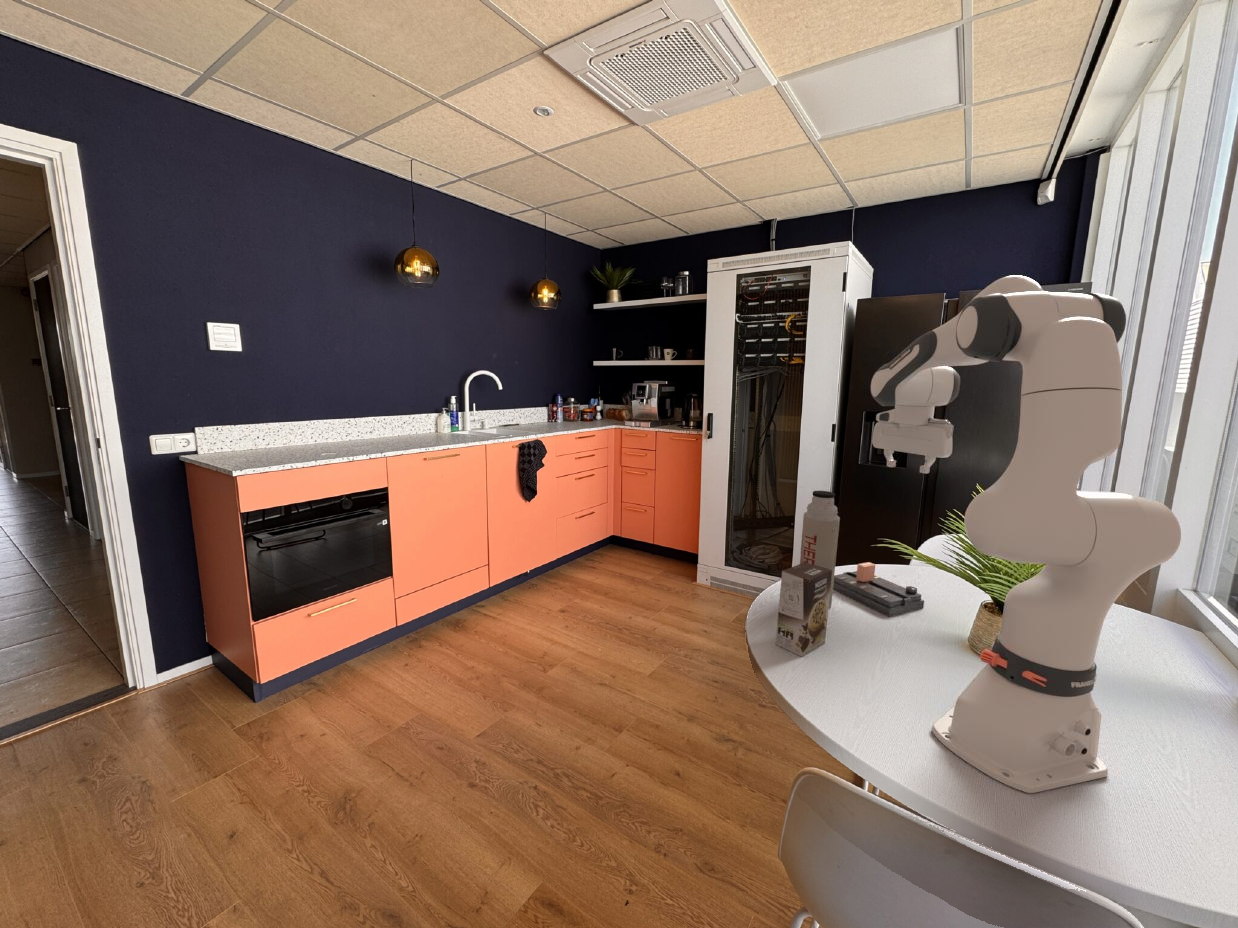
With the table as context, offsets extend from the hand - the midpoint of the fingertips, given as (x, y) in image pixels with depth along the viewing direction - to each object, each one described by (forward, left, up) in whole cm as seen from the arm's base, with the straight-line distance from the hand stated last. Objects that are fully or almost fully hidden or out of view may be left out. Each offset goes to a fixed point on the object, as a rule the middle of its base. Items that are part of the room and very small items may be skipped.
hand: (907, 469), depth 133 cm
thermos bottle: (-31, -2, -31) cm, 44 cm away
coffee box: (-48, -15, -31) cm, 59 cm away
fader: (-14, -2, -29) cm, 32 cm away
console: (-14, -5, -31) cm, 35 cm away
